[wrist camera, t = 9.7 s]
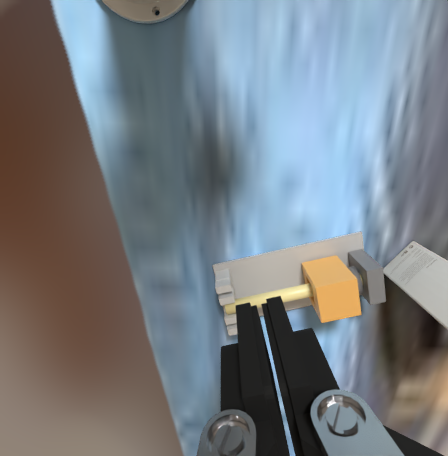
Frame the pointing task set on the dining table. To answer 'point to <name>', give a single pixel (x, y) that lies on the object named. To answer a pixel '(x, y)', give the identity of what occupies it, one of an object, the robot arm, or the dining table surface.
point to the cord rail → (292, 275)
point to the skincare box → (422, 279)
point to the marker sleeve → (332, 288)
